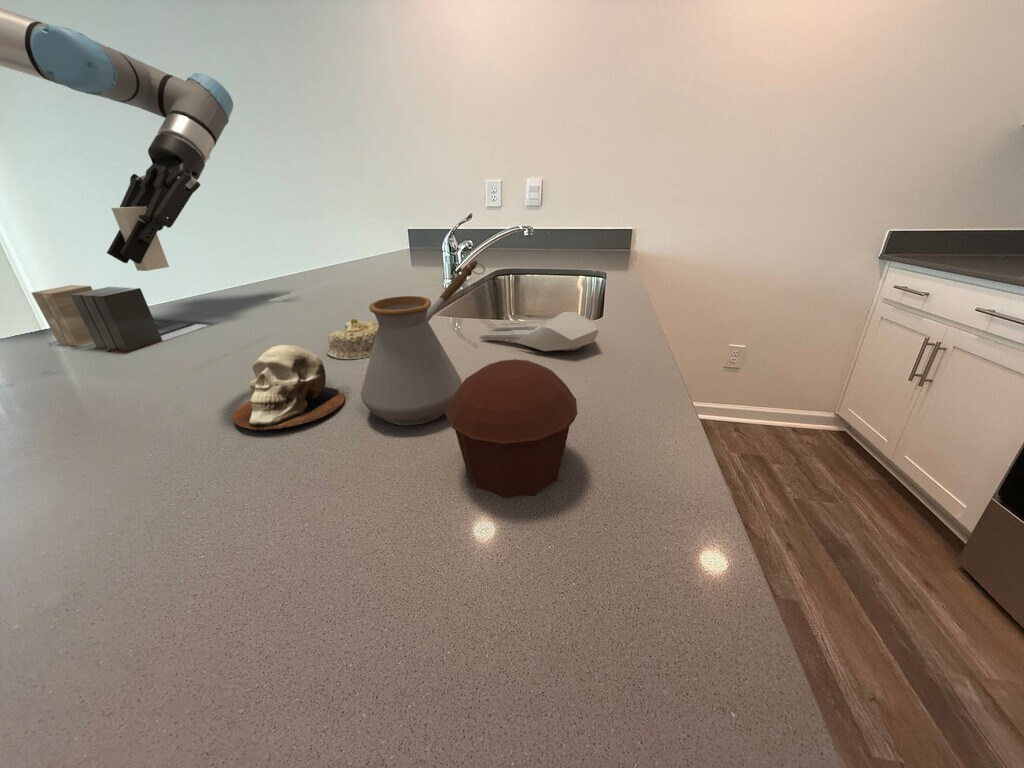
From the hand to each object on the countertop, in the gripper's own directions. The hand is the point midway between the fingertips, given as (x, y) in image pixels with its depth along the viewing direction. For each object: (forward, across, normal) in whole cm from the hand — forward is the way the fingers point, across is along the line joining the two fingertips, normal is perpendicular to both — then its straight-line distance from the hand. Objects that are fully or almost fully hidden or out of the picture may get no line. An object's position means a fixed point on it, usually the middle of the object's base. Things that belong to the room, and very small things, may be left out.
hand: (123, 258), depth 67 cm
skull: (+22, -43, +1) cm, 48 cm away
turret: (+2, -68, -18) cm, 70 cm away
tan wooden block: (+11, +9, -10) cm, 17 cm away
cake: (+8, -39, -13) cm, 42 cm away
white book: (-1, 0, -4) cm, 5 cm away
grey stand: (+11, -1, -10) cm, 15 cm away
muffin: (+25, -72, +5) cm, 77 cm away
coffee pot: (+16, -59, -4) cm, 61 cm away
